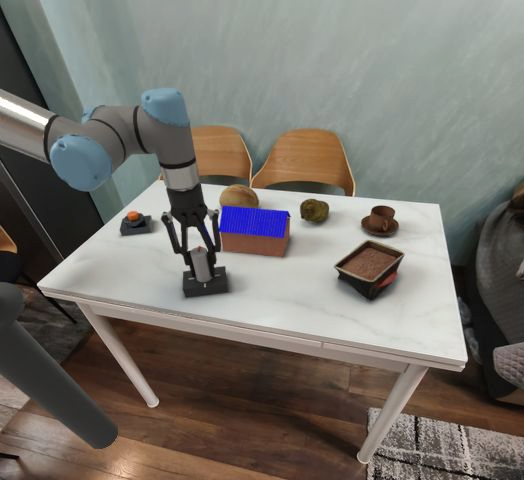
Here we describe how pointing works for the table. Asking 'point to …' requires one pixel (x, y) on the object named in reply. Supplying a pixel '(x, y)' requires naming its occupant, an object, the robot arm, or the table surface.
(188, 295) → the timer panel
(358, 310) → the table surface
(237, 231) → the house
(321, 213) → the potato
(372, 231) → the cup and saucer
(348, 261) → the baking dish
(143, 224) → the button block
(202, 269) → the timer dial
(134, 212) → the button
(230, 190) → the bread roll
